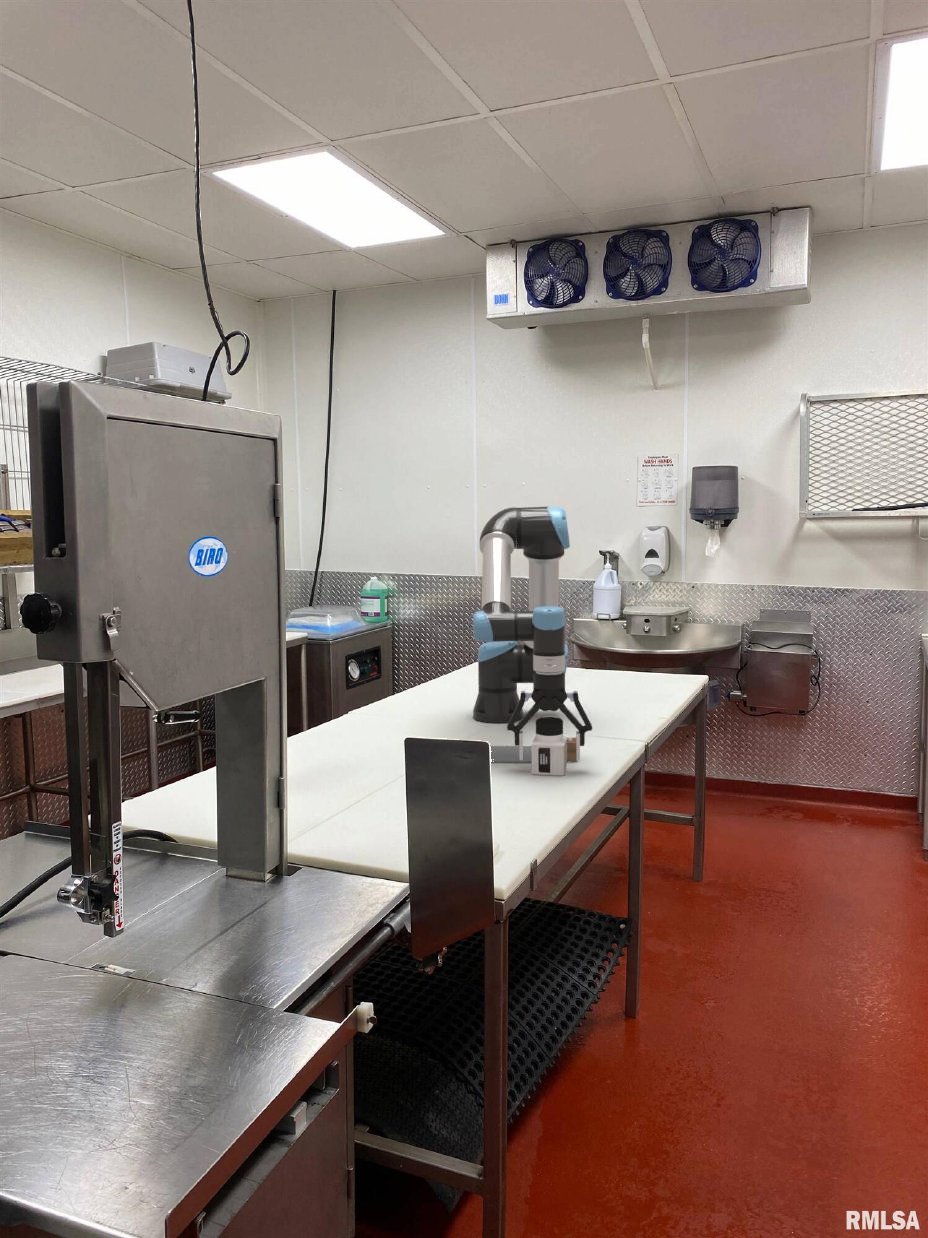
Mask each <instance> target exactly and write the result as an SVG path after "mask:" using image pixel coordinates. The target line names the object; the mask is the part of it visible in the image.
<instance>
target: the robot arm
mask: <svg viewBox="0 0 928 1238" xmlns="http://www.w3.org/2000/svg"><path fill="white" fill-rule="evenodd" d="M567 521H568V520H567V514H566V511H565V509H564V508H563V507H559V506H558V507H557V506H547V505H546V506H531V507H530V506H528V507H527V506H526V507H523V506H522V507H508V508H504V509H502V510H500V511H497V513H496V514H494V515H492V517H491V518H489V520H488V521H487V523H485V526H483V529H482V530H481V533H480V537H479V550H480V553H481V554H482V574H481V575H482V578H481V580H482V584H481V588H482V589H481V610H479V611H475V612H473V616H472V632H473V633H472V634H473V638H474V640H475V641H476V642H484V643H483V644H481V645H480V646H479V647H478V649H477V662H478V665H477V666H478V675H477V677H478V679H477V680H478V693H477V696H476V700H475V703H474V706H473V709H472V718H473V719H474V720H476V721H478V722H481V723H489V724H490V723H493V724H496V723H497V724H501V723H502V724H503V723H507V725H506V730H507V731H511V732H513V733H514V746H519V751H520V760H523V746H524V744H523V743H524V735H523V734H524V731H523V730H522V729H524V727H525V726H526V725H527V724H528V722H530V720H531V719H532V717H534V716H535V715H536V714H537V712H538V711H539V710H541V711H542V712H549V711H550V712H557V711H558V710H560V712H561V713H562V714H563V715H564V716H565V717H566V718H567V719H568V721H570V723H572V725H573V726H574V727H575V729H577V730H576V731H575V733H576V734H575V735H576V736H575V737H576V759H577V761H581V747H585V743H586V739H585V735H586V733H587V732H591V731H592V730H593V725H592V723H591V721H590V718H589V717H588V715H587V713H586V710H585V709H584V707H583V706H582V703H581V701H580V700H579V699H580V698H579V694H578V691H577V690H573V692H566V672H567V666H568V656H569V647H568V645H567V644H566V643H565V641H566V634H565V633H566V618H565V610H564V608H563V607H561V606H559V596H560V595H559V588H560V587H559V586H560V585H559V584H560V579H559V577H560V560H561V559H563V557H564V556H565V550H567V549H570V547H571V545H570V536H569V529H568V527H569V526H568V522H567ZM514 550H523V552H522V553H523V556H524V557H525V559H527V560H528V610H512V559H511V557H512V556H511V555H512V554H513V553H514ZM518 642H523V644H518ZM518 684H533V685H532V689H533V690H532V692H526V691H525V690H522V691H520V697H519V694H518ZM530 699H532V701H533V703H534V704H533V705H532V707H531V708H530V709H529V710H528V711H527V712H526V714H525V715H524V709H523V708H524V705H525V703H526V702H528V701H529V700H530ZM567 699H569V700H570V702H573V704H574V706H575V708H576V710H577V712H578V714H579V715H580V718H581V720H582V722H583V724H584V725H583V724H582V723H581V722H580V721H579V720H578V718H577V717H576V716H575V715H574V714H573V713H572V712H571V711H570V709H568V707H567V706H566V705H565V702H566V700H567ZM516 721H517V722H518V721H519V722H518V723H517V724H516ZM515 724H516V725H515Z"/></svg>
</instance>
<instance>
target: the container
mask: <svg viewBox="0 0 928 1238" xmlns="http://www.w3.org/2000/svg"><path fill="white" fill-rule="evenodd" d="M531 746H532V763H531V775H535V776H536V775H538V776H555V777H557V776H558V777H559V776H562V777H564V776H565V773H566V771H567V767H568V766H567V765H568V762H567V736H566V735H565V736H564V720H563V719H561V718H560V717H558V716H551V715H549V716H548V715H547V716H542V717H539V718H537V719H536V721H535V736H534V738H533V741H532V743H531Z"/></svg>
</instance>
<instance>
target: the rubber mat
mask: <svg viewBox="0 0 928 1238" xmlns="http://www.w3.org/2000/svg"><path fill="white" fill-rule="evenodd" d="M490 746H491V751H492V752H491V759H492V763H491V764H499V763H498V762H501V763H500V764H532V745H523V760H520V751H519V746H515V745H490ZM493 759H494V760H493ZM493 761H494V763H493ZM496 762H497V763H496Z"/></svg>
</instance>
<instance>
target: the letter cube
mask: <svg viewBox="0 0 928 1238" xmlns="http://www.w3.org/2000/svg"><path fill="white" fill-rule="evenodd" d="M566 737H567V736H566ZM567 761H577V759H576V736H574V737H573V736H571V737H569V736H568V737H567Z"/></svg>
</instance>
